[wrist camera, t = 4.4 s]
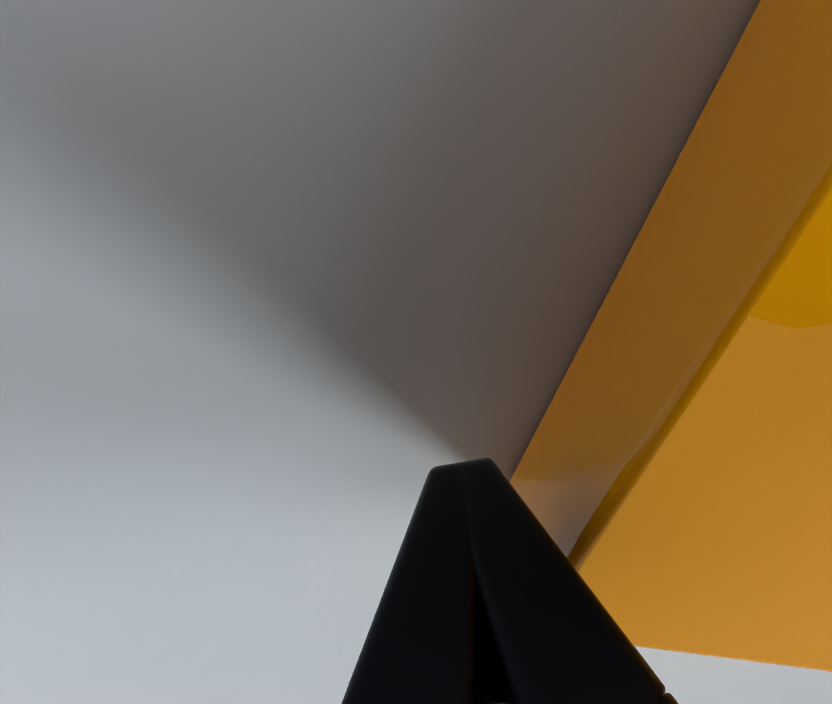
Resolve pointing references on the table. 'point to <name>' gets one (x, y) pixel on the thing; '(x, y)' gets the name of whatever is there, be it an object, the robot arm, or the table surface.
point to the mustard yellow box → (714, 379)
